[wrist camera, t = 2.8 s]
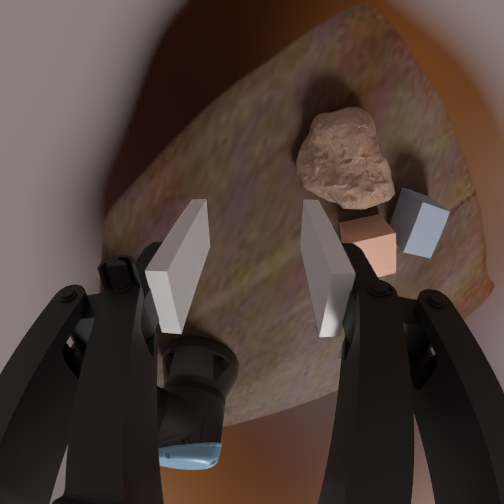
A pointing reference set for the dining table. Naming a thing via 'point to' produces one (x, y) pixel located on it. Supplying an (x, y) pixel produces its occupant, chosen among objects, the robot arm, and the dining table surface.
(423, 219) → the slate block
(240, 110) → the dining table surface
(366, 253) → the terracotta block
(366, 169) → the stone
